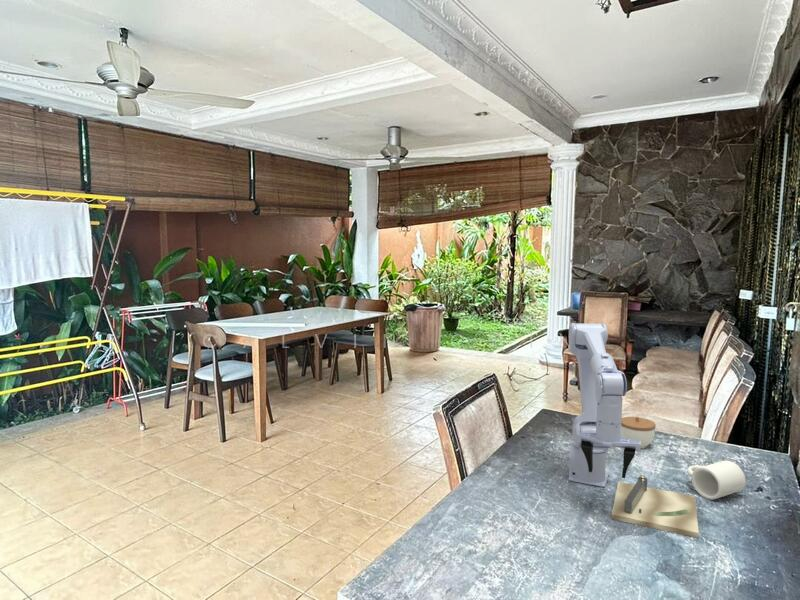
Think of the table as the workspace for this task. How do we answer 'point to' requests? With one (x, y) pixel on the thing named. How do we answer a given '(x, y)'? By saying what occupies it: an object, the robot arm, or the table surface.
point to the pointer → (635, 494)
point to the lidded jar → (638, 430)
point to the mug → (717, 479)
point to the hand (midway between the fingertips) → (607, 473)
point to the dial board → (658, 510)
